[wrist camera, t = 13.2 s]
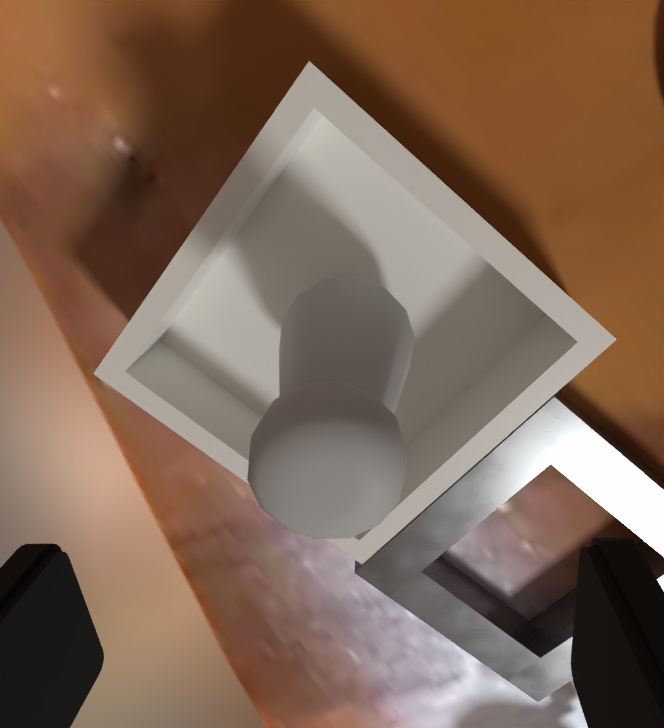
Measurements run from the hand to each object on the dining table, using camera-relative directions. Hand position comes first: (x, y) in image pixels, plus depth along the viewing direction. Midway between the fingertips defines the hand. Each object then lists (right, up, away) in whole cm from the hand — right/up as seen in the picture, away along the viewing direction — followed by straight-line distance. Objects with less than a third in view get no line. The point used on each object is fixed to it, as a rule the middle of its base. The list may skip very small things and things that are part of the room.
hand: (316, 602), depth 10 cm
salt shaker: (+1, +6, +16) cm, 17 cm away
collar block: (+12, -5, +21) cm, 24 cm away
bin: (+1, +6, +17) cm, 18 cm away
